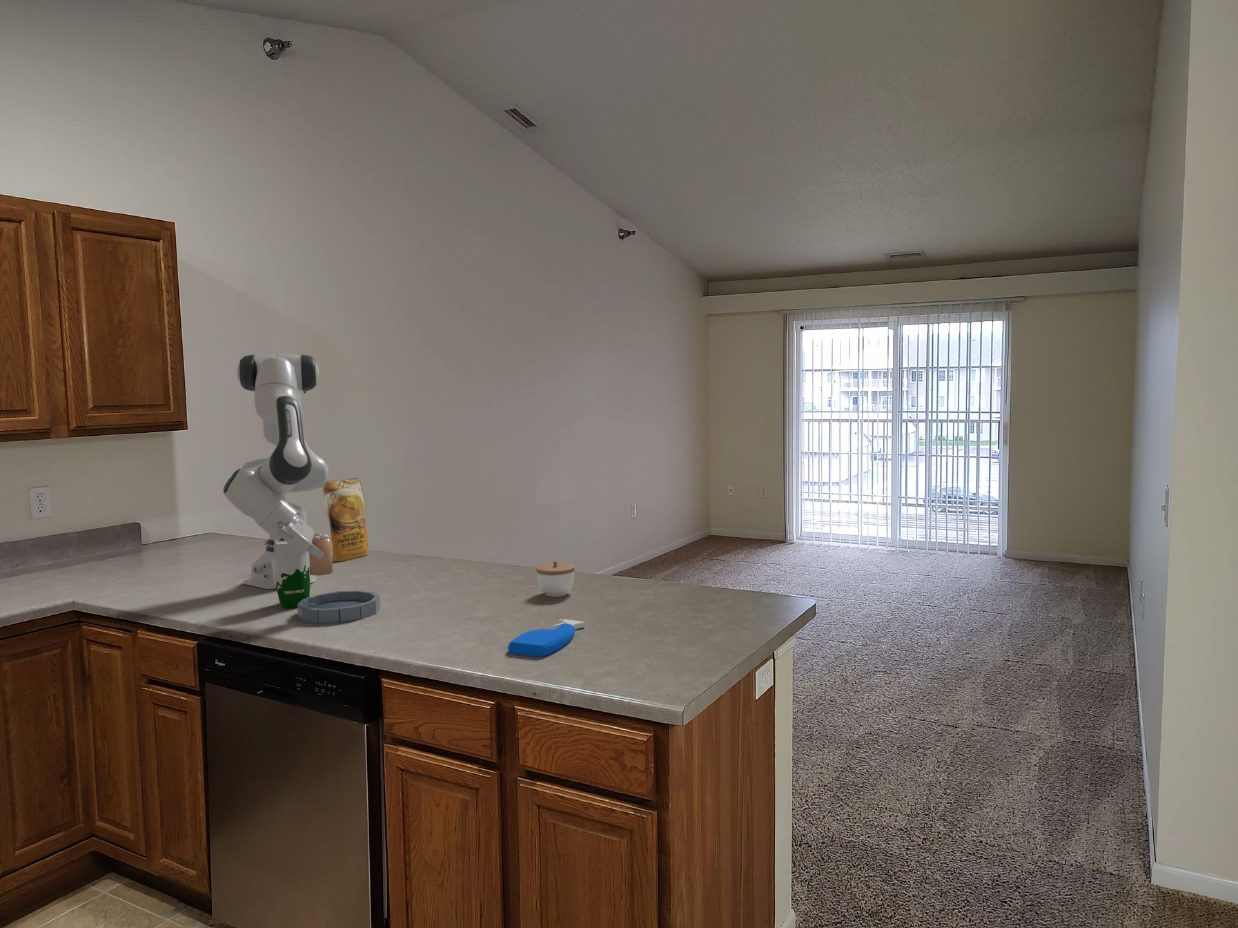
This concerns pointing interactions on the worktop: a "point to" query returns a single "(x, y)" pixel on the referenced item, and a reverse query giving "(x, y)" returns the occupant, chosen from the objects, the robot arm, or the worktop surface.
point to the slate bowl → (338, 606)
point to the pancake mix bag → (346, 518)
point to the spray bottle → (544, 639)
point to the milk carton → (291, 574)
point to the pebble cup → (325, 563)
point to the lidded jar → (555, 578)
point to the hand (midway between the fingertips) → (323, 554)
